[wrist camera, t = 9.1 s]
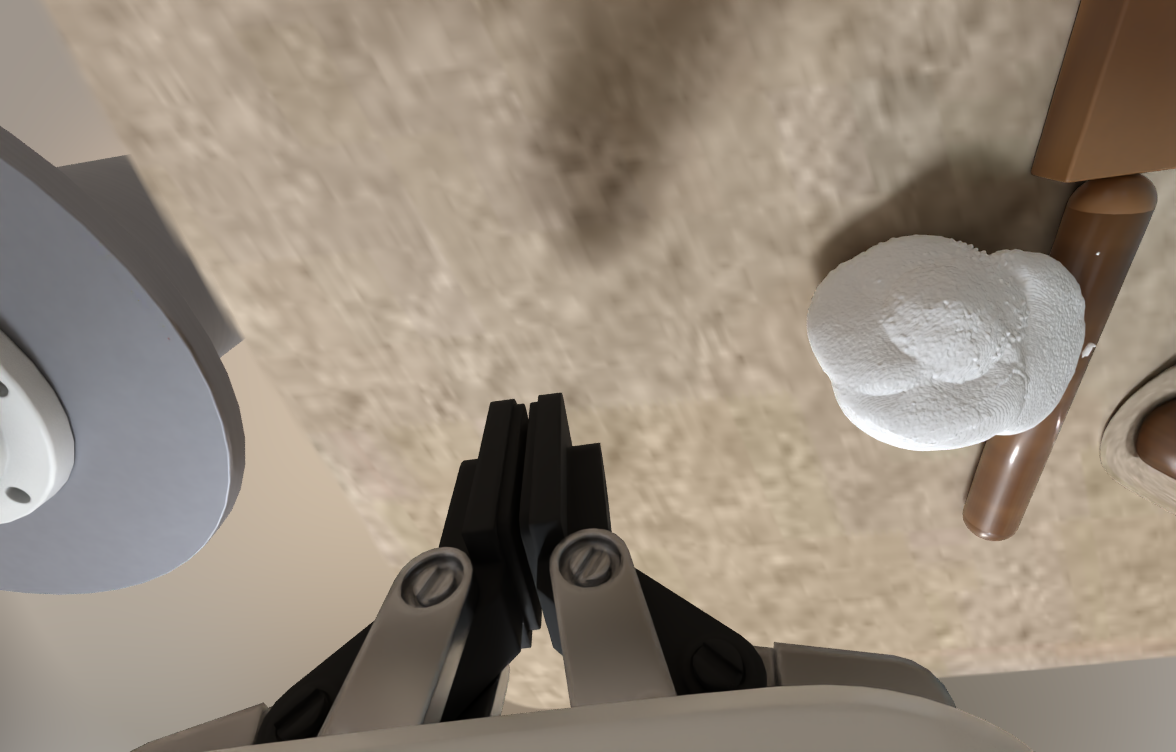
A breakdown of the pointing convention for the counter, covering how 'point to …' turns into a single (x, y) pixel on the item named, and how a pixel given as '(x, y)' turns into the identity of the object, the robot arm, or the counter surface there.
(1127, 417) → the chrome tumbler
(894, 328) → the dumpling
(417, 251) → the counter surface
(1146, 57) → the wooden spatula
